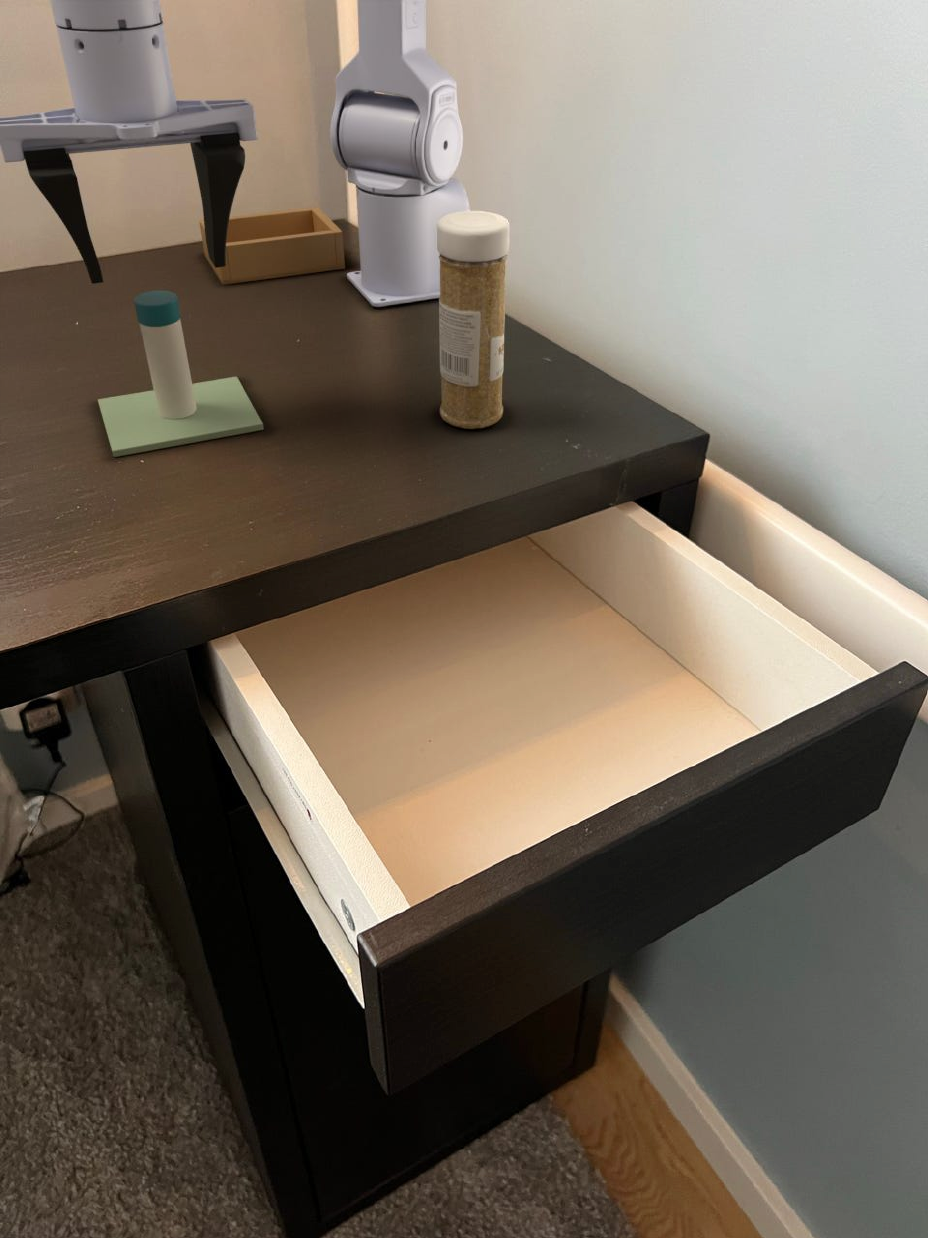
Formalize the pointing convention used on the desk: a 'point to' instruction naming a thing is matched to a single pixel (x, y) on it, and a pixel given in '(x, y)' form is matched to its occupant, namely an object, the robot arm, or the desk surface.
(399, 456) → the desk surface
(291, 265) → the box
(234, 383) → the mat
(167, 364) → the white bottle teal cap
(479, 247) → the spice jar
